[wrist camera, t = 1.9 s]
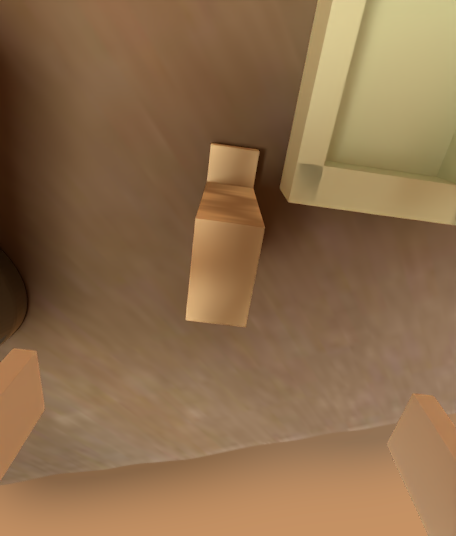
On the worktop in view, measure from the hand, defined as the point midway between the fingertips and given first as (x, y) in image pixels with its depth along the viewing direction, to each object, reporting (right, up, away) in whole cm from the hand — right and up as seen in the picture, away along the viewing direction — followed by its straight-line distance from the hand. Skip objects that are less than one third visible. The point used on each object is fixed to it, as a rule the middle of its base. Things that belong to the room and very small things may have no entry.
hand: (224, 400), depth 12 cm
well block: (+13, +19, +14) cm, 28 cm away
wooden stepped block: (0, +11, +19) cm, 22 cm away
